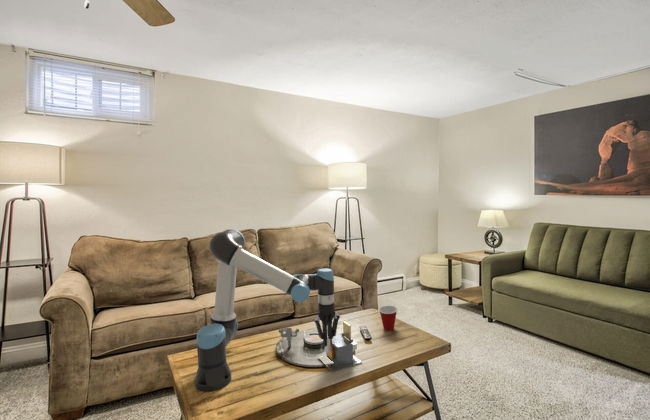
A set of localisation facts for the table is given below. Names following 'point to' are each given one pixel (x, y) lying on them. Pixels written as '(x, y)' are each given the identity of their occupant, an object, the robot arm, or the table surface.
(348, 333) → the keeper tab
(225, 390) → the table surface
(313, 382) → the table surface
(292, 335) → the mechanical component
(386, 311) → the plastic cup
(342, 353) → the grey boxy piece
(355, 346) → the lynch pin
